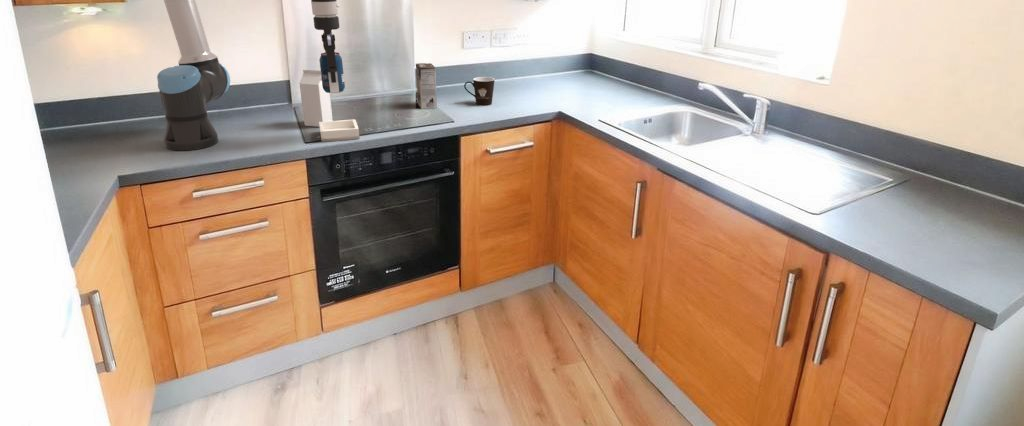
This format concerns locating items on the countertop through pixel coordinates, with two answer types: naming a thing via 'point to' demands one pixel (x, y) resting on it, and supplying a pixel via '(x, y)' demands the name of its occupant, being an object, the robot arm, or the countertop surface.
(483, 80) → the coffee mug
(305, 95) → the milk carton
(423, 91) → the coffee box
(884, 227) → the countertop surface
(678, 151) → the countertop surface
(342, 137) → the bin
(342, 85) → the soda can
